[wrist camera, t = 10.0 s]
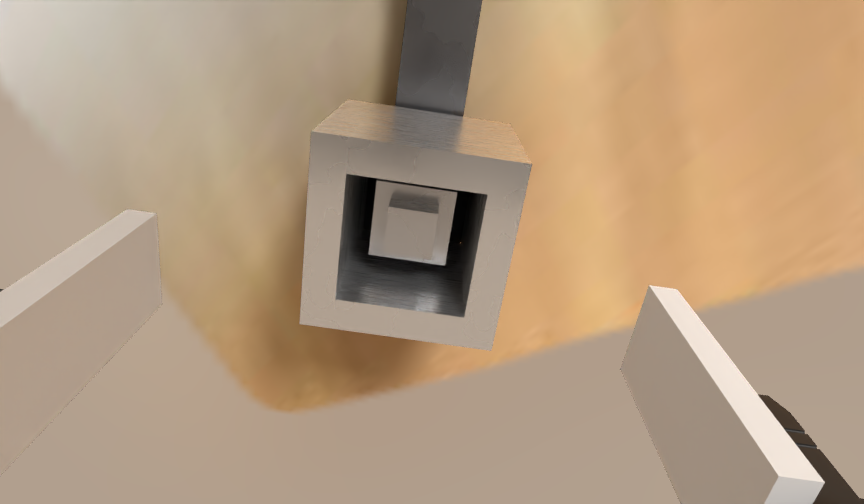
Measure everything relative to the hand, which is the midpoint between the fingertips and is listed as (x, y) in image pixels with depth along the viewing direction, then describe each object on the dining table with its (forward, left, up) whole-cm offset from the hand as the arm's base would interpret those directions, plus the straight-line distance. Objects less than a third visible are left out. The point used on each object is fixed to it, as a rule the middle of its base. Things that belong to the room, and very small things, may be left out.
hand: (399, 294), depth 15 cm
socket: (0, 0, -11) cm, 11 cm away
